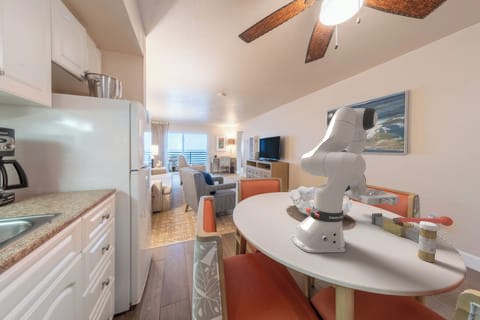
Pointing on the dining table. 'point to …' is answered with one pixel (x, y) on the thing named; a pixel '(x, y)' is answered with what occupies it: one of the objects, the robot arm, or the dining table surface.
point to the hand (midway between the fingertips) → (394, 203)
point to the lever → (426, 220)
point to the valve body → (396, 227)
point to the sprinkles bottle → (427, 241)
